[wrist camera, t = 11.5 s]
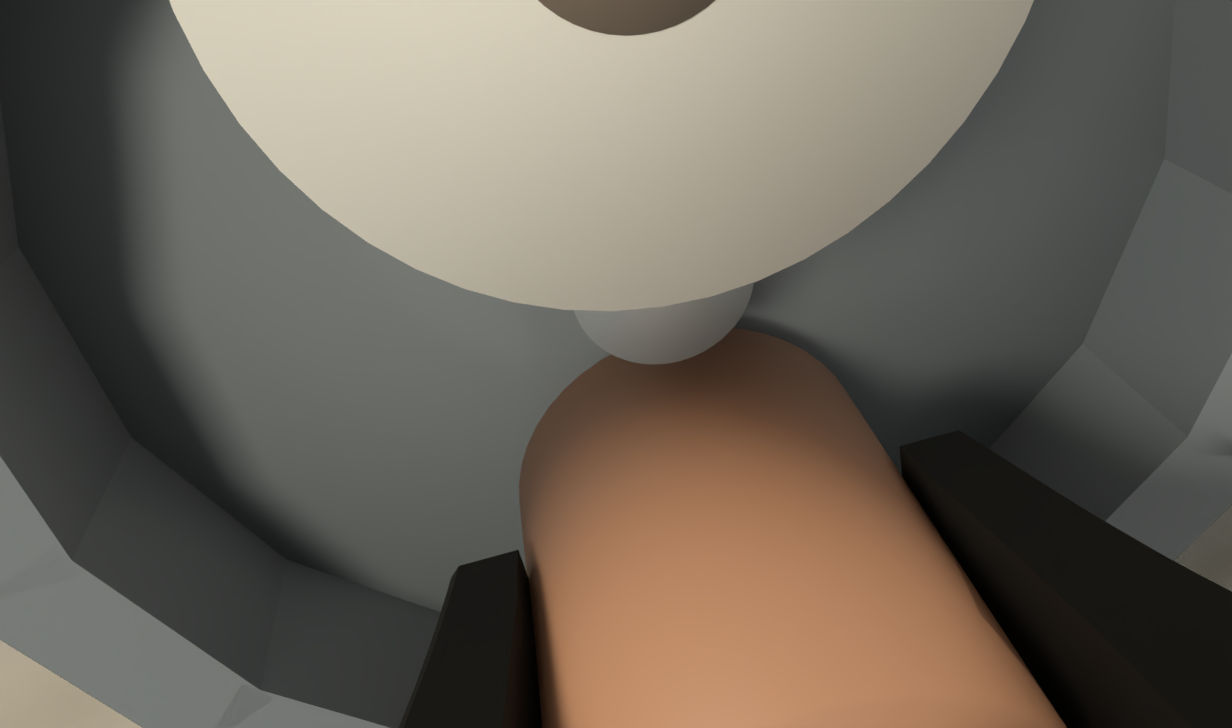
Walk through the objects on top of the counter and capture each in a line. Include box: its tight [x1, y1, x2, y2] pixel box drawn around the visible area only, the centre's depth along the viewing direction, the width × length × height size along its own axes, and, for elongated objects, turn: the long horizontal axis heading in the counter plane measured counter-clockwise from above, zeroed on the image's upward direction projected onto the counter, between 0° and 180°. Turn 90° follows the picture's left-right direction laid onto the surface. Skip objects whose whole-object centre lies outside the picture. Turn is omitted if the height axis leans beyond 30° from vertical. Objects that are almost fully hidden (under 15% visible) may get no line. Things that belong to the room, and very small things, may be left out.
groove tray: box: [0, 0, 1232, 728], centre depth 10 cm, size 14×14×3 cm
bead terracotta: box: [519, 328, 1067, 728], centre depth 9 cm, size 4×4×5 cm
